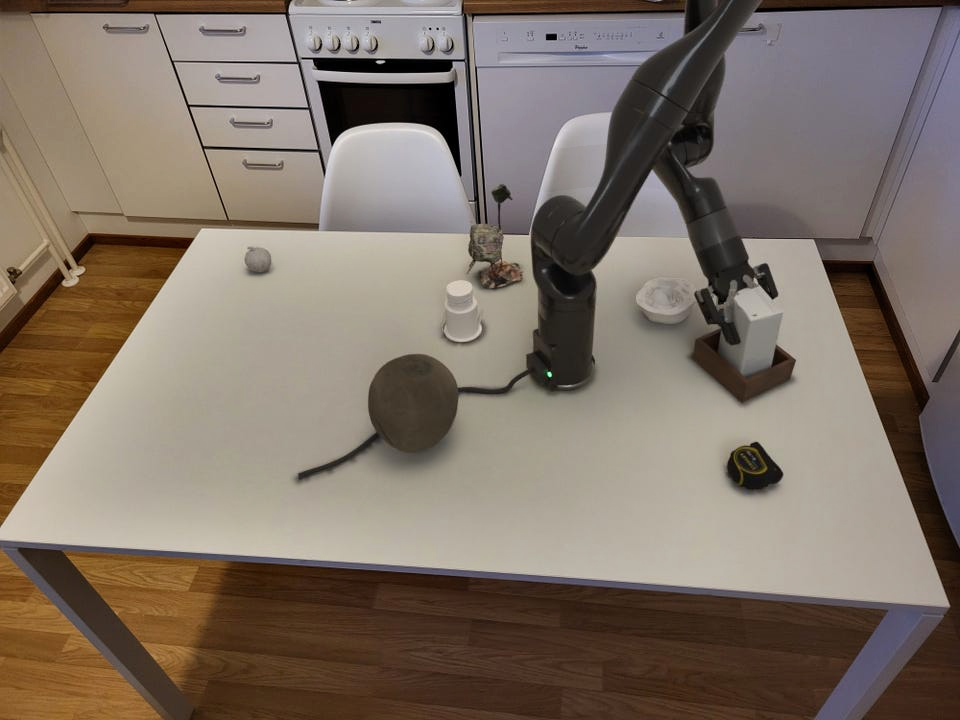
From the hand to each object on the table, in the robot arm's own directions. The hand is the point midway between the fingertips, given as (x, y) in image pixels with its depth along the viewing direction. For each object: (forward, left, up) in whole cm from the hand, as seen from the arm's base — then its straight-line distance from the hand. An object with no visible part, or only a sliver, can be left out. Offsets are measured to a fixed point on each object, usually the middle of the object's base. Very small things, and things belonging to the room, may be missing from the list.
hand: (753, 336), depth 126 cm
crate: (0, +1, -8) cm, 8 cm away
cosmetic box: (0, +1, -8) cm, 8 cm away
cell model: (-2, +19, -8) cm, 21 cm away
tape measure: (-14, -17, -8) cm, 24 cm away
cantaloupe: (-54, +16, -8) cm, 57 cm away
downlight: (-36, +35, -8) cm, 51 cm away
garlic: (-63, +75, -8) cm, 98 cm away
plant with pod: (-23, +46, -8) cm, 52 cm away
